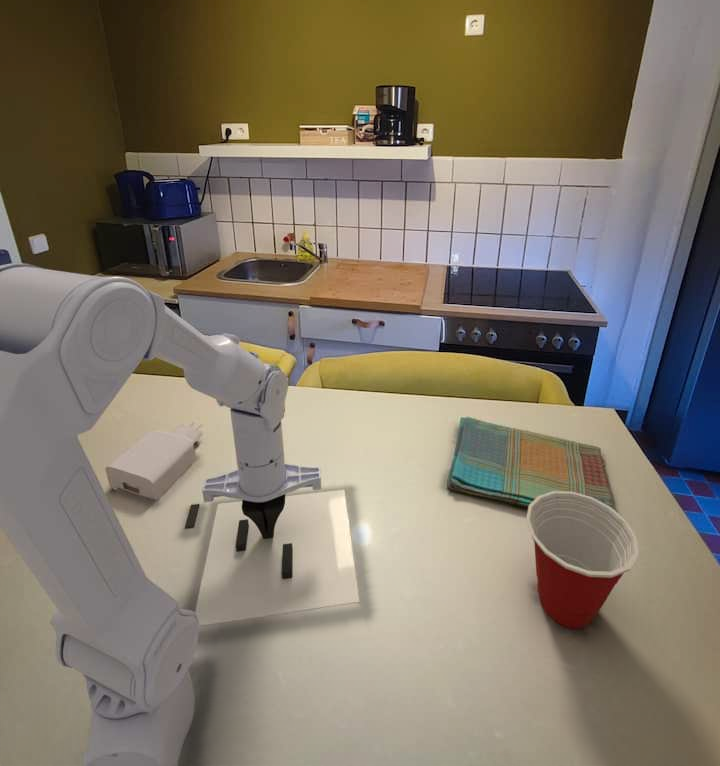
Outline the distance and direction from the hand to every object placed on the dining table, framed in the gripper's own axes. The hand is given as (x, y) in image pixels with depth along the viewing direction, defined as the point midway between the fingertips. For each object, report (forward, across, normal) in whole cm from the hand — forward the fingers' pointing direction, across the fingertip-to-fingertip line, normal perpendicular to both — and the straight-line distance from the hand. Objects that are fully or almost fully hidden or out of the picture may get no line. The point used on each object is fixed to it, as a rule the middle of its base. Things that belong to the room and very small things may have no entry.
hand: (268, 532), depth 57 cm
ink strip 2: (+1, +3, 0) cm, 3 cm away
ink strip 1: (+1, +12, -5) cm, 12 cm away
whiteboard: (+2, -2, +2) cm, 3 cm away
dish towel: (+2, -41, -7) cm, 41 cm away
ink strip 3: (+1, -3, +4) cm, 5 cm away
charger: (+2, +18, -17) cm, 24 cm away
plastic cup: (+2, -35, +13) cm, 37 cm away
